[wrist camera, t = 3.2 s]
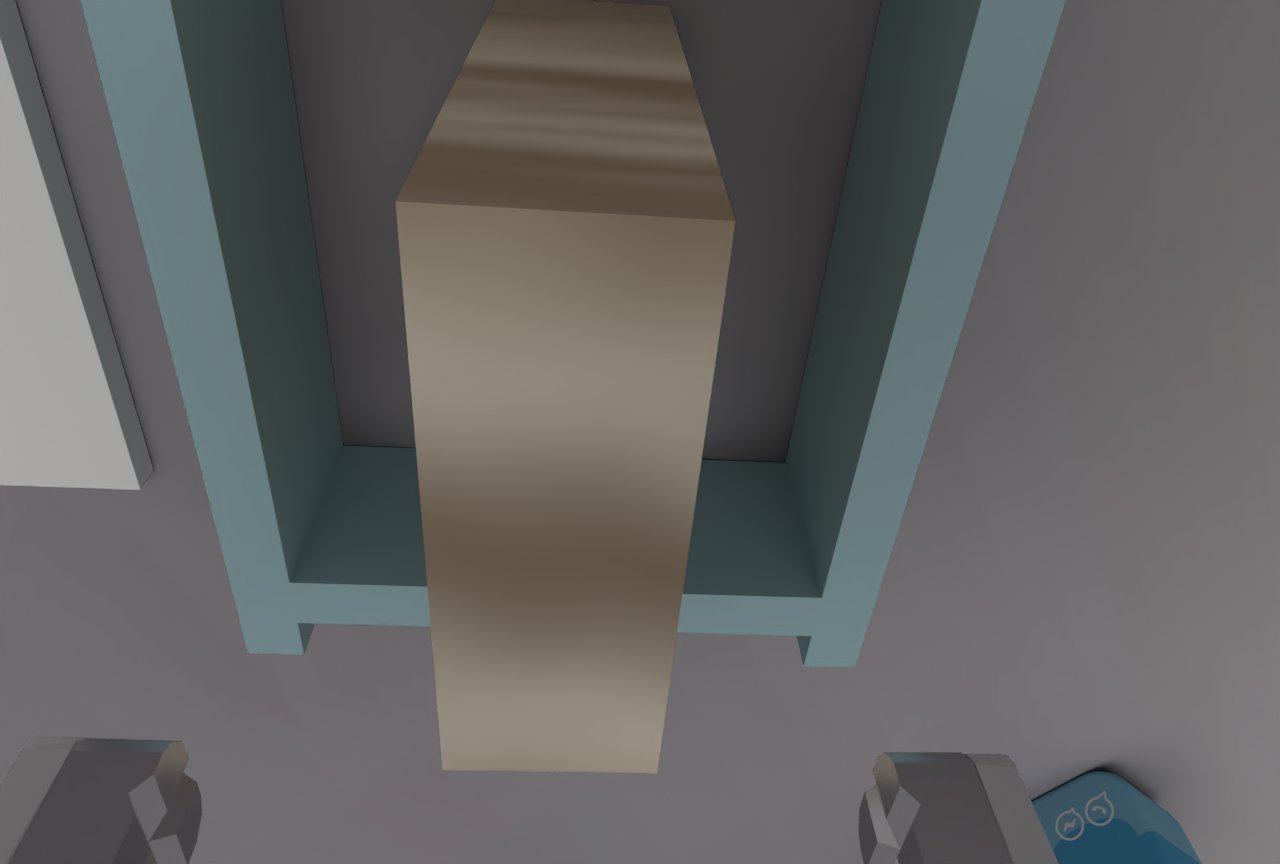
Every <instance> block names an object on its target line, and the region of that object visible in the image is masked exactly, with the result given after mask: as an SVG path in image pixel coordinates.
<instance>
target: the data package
mask: <svg viewBox="0 0 1280 864" xmlns="http://www.w3.org/2000/svg"><path fill="white" fill-rule="evenodd" d="M1032 804H1033V806H1034V809H1035V811H1036V813H1037V816H1038V818H1039V820H1040V822H1041V825H1042V827H1043V829H1044V832H1045V834H1046V836H1047V838H1048V841H1049V843H1050V845H1051V848H1052V850H1053V852H1054V854H1055V857H1056V859H1057V861H1058V864H1202V863H1201V861H1200V860H1199V858H1198V856H1197V854H1196V853H1195V851H1194V849H1193V847H1192V845H1191V844H1190V842H1189V840H1188V838H1187V836H1186V835H1185V833H1184V831H1183V829H1182V827H1181V826H1180V824H1179V823H1178V822H1177V821H1176V819H1175V818H1174V817H1173V816H1171V815H1170V814H1169V813H1168V812H1166V811H1165V810H1164V809H1162V808H1161V807H1160V806H1158V805H1157V804H1156V803H1154V802H1153V801H1152V800H1150V799H1149V798H1148V797H1146V796H1145V795H1144V794H1142V793H1141V792H1140V791H1138V790H1137V789H1136V788H1134V787H1133V786H1132V785H1130V784H1129V783H1128V782H1126V781H1125V780H1124V779H1122V778H1121V777H1119V776H1117V775H1115V774H1112V773H1109V772H1102V771H1096V772H1090V773H1086V774H1084V775H1082V776H1080V777H1078V778H1076V779H1074V780H1072V781H1070V782H1068V783H1066V784H1064V785H1062V786H1061V787H1059V788H1057V789H1055V790H1053V791H1051V792H1049V793H1047V794H1045V795H1043V796H1041V797H1039V798H1037V799H1036V800H1034V801H1032Z"/></svg>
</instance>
